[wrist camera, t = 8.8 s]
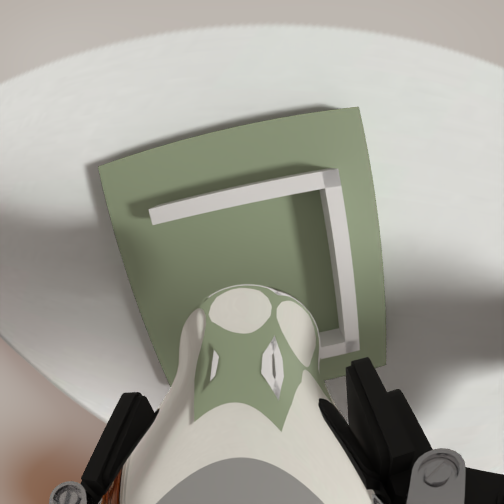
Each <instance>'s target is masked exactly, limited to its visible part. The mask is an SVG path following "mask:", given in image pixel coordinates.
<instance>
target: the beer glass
mask: <svg viewBox="0 0 504 504" xmlns="http://www.w3.org/2000/svg"><path fill="white" fill-rule="evenodd" d="M97 504H394V502H393V500H392V498H391V496H390V495H389V493H388V491H387V489H386V487H385V485H384V483H383V481H382V479H381V478H380V476H379V474H378V472H377V471H376V469H375V467H374V466H373V464H372V462H371V461H370V459H369V458H368V456H367V454H366V453H365V451H364V449H363V448H362V446H361V444H360V443H359V441H358V440H357V438H356V436H355V435H354V433H353V432H352V430H351V428H350V427H349V425H348V424H347V422H346V421H345V419H344V417H343V416H342V414H341V413H340V411H339V409H338V408H337V406H336V404H335V402H334V401H333V399H332V397H331V395H330V394H329V392H328V390H327V387H326V385H325V382H324V379H323V375H322V369H321V339H320V333H319V329H318V326H317V324H316V321H315V319H314V317H313V316H312V314H311V313H310V311H309V310H308V309H307V308H306V307H305V306H304V305H303V304H302V303H301V302H300V301H299V300H298V299H297V298H295V297H294V296H292V295H291V294H289V293H287V292H285V291H283V290H281V289H278V288H275V287H272V286H268V285H263V284H253V283H248V284H237V285H231V286H227V287H224V288H221V289H219V290H216V291H214V292H212V293H211V294H209V295H207V296H206V297H204V298H203V299H202V300H200V301H199V302H198V303H197V304H196V305H195V306H194V307H193V308H192V309H191V311H190V312H189V314H188V315H187V317H186V319H185V321H184V323H183V326H182V329H181V332H180V338H179V349H178V367H177V372H176V376H175V379H174V381H173V383H172V385H171V388H170V390H169V391H168V393H167V394H166V396H165V398H164V399H163V401H162V403H161V404H160V406H159V407H158V409H157V410H156V412H155V413H154V415H153V416H152V418H151V419H150V421H149V422H148V424H147V425H146V427H145V428H144V430H143V431H142V432H141V434H140V435H139V437H138V438H137V440H136V441H135V443H134V445H133V446H132V448H131V449H130V451H129V452H128V454H127V455H126V457H125V458H124V460H123V461H122V463H121V464H120V466H119V467H118V469H117V470H116V472H115V474H114V475H113V477H112V479H111V481H110V482H109V484H108V486H107V488H106V489H105V491H104V493H103V495H102V496H101V498H100V500H99V502H98V503H97Z"/></svg>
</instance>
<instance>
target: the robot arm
mask: <svg viewBox="0 0 504 504" xmlns="http://www.w3.org/2000/svg"><path fill="white" fill-rule="evenodd" d="M346 384H347V401H348V422H349V427H350V428H351V430H352V432H353V433H354V435H355V436H356V438H357V440H358V441H359V443H360V444H361V446H362V448H363V449H364V451H365V453H366V454H367V456H368V458H369V459H370V461H371V462H372V464H373V466H374V467H375V469H376V471H377V472H378V474H379V476H380V478H381V479H382V481H383V483H384V485H385V487H386V489H387V491H388V493H389V495H390V496H391V498H392V500H393V502H394V504H504V475H503V474H497V473H491V472H486V471H481V470H476V469H471V468H467V467H465V462H464V460H463V458H462V457H461V455H459V454H458V453H457V452H455V451H453V450H450V449H443V448H439V449H434V450H433V449H432V447H431V445H430V444H429V442H428V440H427V438H426V436H425V434H424V432H423V430H422V428H421V426H420V424H419V423H418V421H417V419H416V417H415V415H414V413H413V411H412V409H411V408H410V406H409V404H408V402H407V400H406V398H405V397H404V395H403V393H402V392H401V390H399V389H396V390H393V391H390V392H387V391H386V389H385V387H384V386H383V384H382V382H381V380H380V378H379V376H378V374H377V372H376V370H375V368H374V366H373V364H372V362H371V360H370V358H369V357H365V358H361V359H358V360H354V361H351V366H348V367H346ZM153 415H154V411H153V409H152V407H151V405H150V403H149V401H148V399H147V398H146V397H145V396H142V394H141V393H139V392H132V393H123V394H122V396H121V398H120V400H119V402H118V404H117V406H116V407H115V409H114V411H113V413H112V415H111V417H110V419H109V421H108V423H107V426H106V427H105V429H104V431H103V433H102V435H101V438H100V440H99V442H98V444H97V446H96V448H95V450H94V452H93V454H92V456H91V458H90V461H89V462H88V465H87V467H86V469H85V471H84V473H83V475H82V477H81V479H82V482H81V484H79V483H77V482H73V481H71V482H64V483H61V484H60V485H58V486H57V487H56V488H55V489H54V490H53V491H52V493H51V495H50V500H49V504H97V503H98V502H99V500H100V498H101V496H102V495H103V493H104V491H105V489H106V488H107V486H108V484H109V482H110V481H111V479H112V477H113V475H114V474H115V472H116V470H117V469H118V467H119V466H120V464H121V463H122V461H123V460H124V458H125V457H126V455H127V454H128V452H129V451H130V449H131V448H132V446H133V445H134V443H135V441H136V440H137V438H138V437H139V435H140V434H141V432H142V431H143V430H144V428H145V427H146V425H147V424H148V422H149V421H150V419H151V418H152V416H153Z"/></svg>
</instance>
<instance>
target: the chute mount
mask: <svg viewBox="0 0 504 504" xmlns="http://www.w3.org/2000/svg"><path fill="white" fill-rule="evenodd" d="M98 169H99V174H100V178H101V183H102V187H103V191H104V195H105V199H106V203H107V207H108V211H109V215H110V218H111V222H112V226H113V229H114V233H115V236H116V240H117V243H118V247H119V250H120V253H121V257H122V260H123V263H124V266H125V269H126V272H127V275H128V278H129V281H130V284H131V287H132V290H133V293H134V296H135V299H136V302H137V305H138V307H139V310H140V313H141V316H142V318H143V321H144V324H145V326H146V329H147V332H148V334H149V337H150V339H151V342H152V344H153V347H154V349H155V352H156V354H157V357H158V359H159V361H160V364H161V366H162V369H163V371H164V373H165V375H166V378H167V380H168V382H169V385H170V387H171V385H172V383H173V381H174V379H175V376H176V372H177V367H178V349H179V338H180V332H181V329H182V326H183V323H184V321H185V319H186V317H187V315H188V314H189V312H190V311H191V309H192V308H193V307H194V306H195V305H196V304H197V303H198V302H199V301H200V300H202V299H203V298H204V297H206V296H207V295H209V294H211V293H212V292H214V291H216V290H219V289H221V288H224V287H227V286H231V285H237V284H248V283H253V284H263V285H268V286H272V287H275V288H278V289H281V290H283V291H285V292H287V293H289V294H291V295H292V296H294V297H295V298H297V299H298V300H299V301H300V302H301V303H302V304H303V305H304V306H305V307H306V308H307V309H308V310H309V311H310V313H311V314H312V316H313V317H314V319H315V321H316V324H317V326H318V329H319V333H320V339H321V369H322V375H323V379H324V380H329V379H333V378H337V377H342V376H346V367H348V366H351V361H354V360H358V359H361V358H365V357H369V358H370V360H371V362H372V364H373V366H374V368H377V367H381V366H384V365H386V313H385V291H384V275H383V261H382V250H381V240H380V230H379V221H378V213H377V205H376V198H375V191H374V184H373V178H372V172H371V166H370V160H369V154H368V149H367V144H366V139H365V134H364V129H363V124H362V119H361V115H360V110H359V107H351V108H343V109H335V110H327V111H320V112H313V113H307V114H300V115H294V116H288V117H282V118H277V119H271V120H266V121H261V122H256V123H251V124H246V125H242V126H237V127H233V128H228V129H224V130H220V131H215V132H211V133H207V134H203V135H199V136H195V137H192V138H188V139H184V140H180V141H177V142H173V143H170V144H166V145H163V146H159V147H156V148H153V149H149V150H146V151H143V152H140V153H137V154H134V155H130V156H127V157H124V158H121V159H118V160H115V161H113V162H110V163H107V164H104V165H101V166H98Z"/></svg>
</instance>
